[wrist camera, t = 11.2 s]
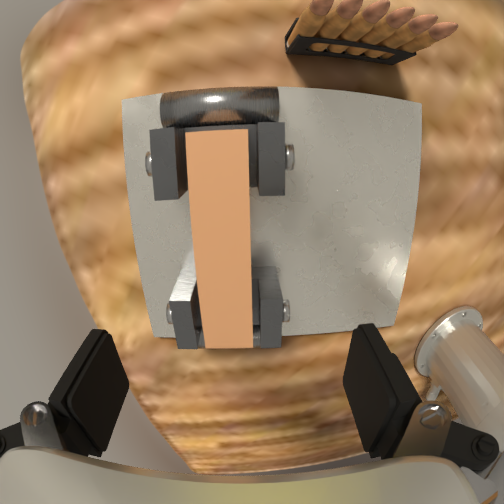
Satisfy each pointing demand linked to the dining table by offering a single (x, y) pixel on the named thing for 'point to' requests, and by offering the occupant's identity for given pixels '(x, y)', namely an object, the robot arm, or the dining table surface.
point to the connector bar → (221, 234)
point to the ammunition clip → (363, 31)
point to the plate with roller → (281, 205)
